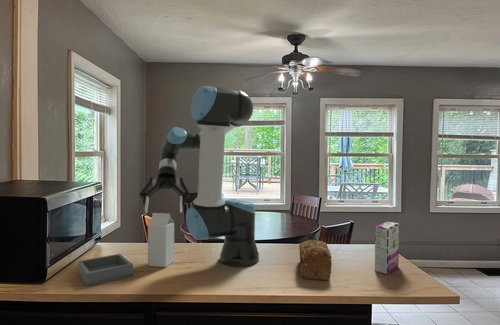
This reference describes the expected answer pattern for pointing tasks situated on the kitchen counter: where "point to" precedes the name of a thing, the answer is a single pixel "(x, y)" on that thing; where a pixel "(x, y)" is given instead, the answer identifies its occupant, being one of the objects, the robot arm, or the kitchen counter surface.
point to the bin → (104, 269)
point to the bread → (315, 260)
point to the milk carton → (160, 240)
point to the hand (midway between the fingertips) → (163, 211)
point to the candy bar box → (386, 247)
